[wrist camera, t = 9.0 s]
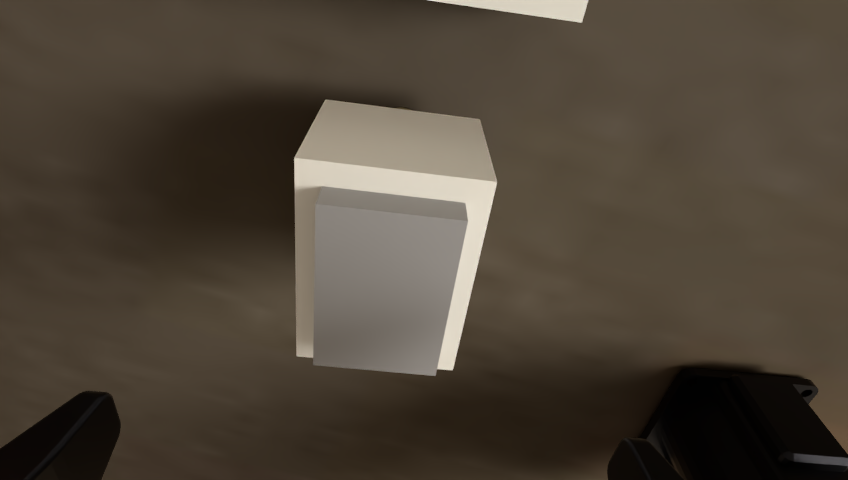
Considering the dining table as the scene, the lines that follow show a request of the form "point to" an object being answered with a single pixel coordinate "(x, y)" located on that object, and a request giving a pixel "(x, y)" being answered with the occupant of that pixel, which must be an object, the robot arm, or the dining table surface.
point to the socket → (531, 7)
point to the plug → (388, 235)
